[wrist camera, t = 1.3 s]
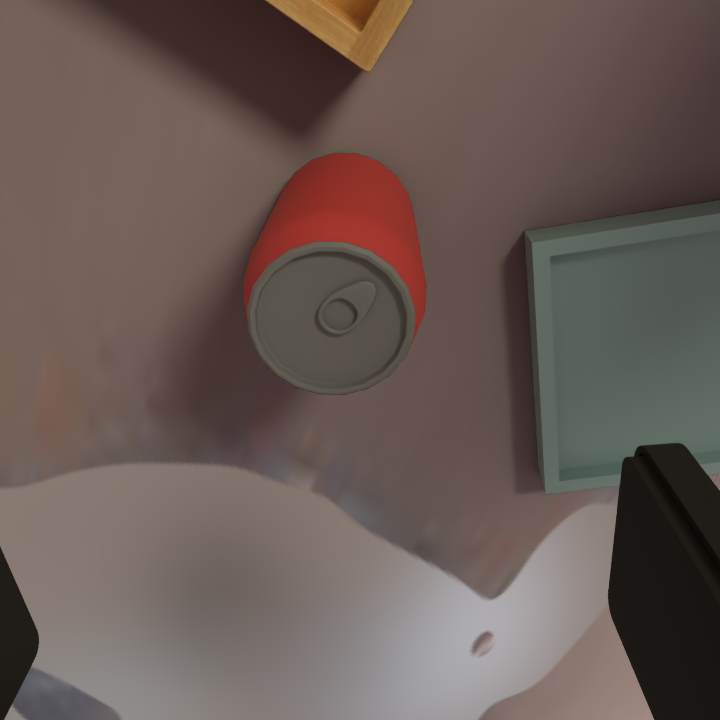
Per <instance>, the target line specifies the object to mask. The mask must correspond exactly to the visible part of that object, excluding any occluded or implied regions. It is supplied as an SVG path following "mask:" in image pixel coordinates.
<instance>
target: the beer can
mask: <svg viewBox="0 0 720 720" xmlns="http://www.w3.org/2000/svg"><path fill="white" fill-rule="evenodd" d="M243 291H244V304H245V316H246V319H247V321H248V333H249V336H250V338H251V340H252V343H253V345H254V347H255V349H256V352H257V354H258V356H259V357H260V358H261V359H262V361H263V362H264V363H265V364H266V365H267V366H268V367H269V369H270V370H271V371H272V372H273V373H274V374H275V375H277V376H278V377H280V378H282V379H283V380H285V381H286V382H288V383H289V384H291V385H293V386H294V387H296V388H300V389H303V390H306V391H310V392H313V393H317V394H329V395H345V394H349V393H353V392H357V391H361V390H365V389H368V388H370V387H372V386H373V385H375V384H377V383H378V382H380V381H382V380H383V379H385V378H387V377H388V376H390V374H391V373H392V372H393V371H394V370H395V369H396V368H397V367H398V365H399V364H400V363H401V362H402V361H403V360H404V359H405V357H406V354H407V352H408V349H409V347H410V345H411V344H412V342H413V339H414V337H415V335H416V332H417V330H418V328H419V325H420V323H421V320H422V318H423V315H424V313H425V300H426V281H425V275H424V269H423V264H422V258H421V253H420V247H419V242H418V236H417V230H416V225H415V219H414V214H413V210H412V207H411V203H410V199H409V196H408V193H407V191H406V190H405V188H404V187H403V185H402V184H401V182H400V181H399V179H398V178H397V176H396V175H395V174H394V173H393V172H391V171H390V170H389V169H387V168H386V167H385V166H384V165H382V164H381V163H380V162H378V161H376V160H374V159H371V158H368V157H365V156H362V155H359V154H356V153H332V154H329V155H326V156H323V157H319V158H316V159H313V160H311V161H310V162H309V163H307V164H306V165H304V166H303V167H302V168H300V169H299V170H298V171H296V172H295V173H294V174H293V176H292V177H291V179H290V180H289V181H288V183H287V184H286V186H285V187H284V189H283V190H282V192H281V194H280V196H279V198H278V200H277V202H276V204H275V206H274V208H273V210H272V212H271V214H270V216H269V218H268V220H267V222H266V224H265V226H264V228H263V230H262V232H261V235H260V237H259V239H258V241H257V243H256V245H255V247H254V249H253V251H252V253H251V255H250V257H249V261H248V265H247V269H246V272H245V276H244V280H243Z"/></svg>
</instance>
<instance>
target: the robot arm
mask: <svg viewBox="0 0 720 720" xmlns="http://www.w3.org/2000/svg"><path fill="white" fill-rule="evenodd" d="M608 602H609V609H610V613H611V617H612V619H613V622H614V625H615V627H616V629H617V632H618V634H619V637H620V639H621V641H622V644H623V646H624V648H625V651H626V653H627V656H628V658H629V660H630V663H631V665H632V668H633V670H634V672H635V675H636V677H637V679H638V682H639V684H640V687H641V689H642V691H643V694H644V696H645V699H646V701H647V703H648V706H649V708H650V710H651V713H652V715H653V718H654V720H720V491H719V489H718V488H717V487H716V485H715V484H714V483H713V481H712V480H711V479H710V477H709V476H708V475H707V474H706V472H705V471H704V470H703V468H702V467H701V466H700V464H699V463H698V462H697V460H696V459H695V458H694V456H693V455H692V454H691V452H690V451H689V450H688V449H687V447H686V446H685V445H683V444H682V443H667V444H654V445H641V446H639V447H637V449H636V451H635V454H634V456H632V457H626V458H624V460H623V463H622V470H621V479H620V488H619V497H618V507H617V516H616V525H615V534H614V544H613V553H612V562H611V572H610V581H609V590H608ZM38 645H39V636H38V632H37V629H36V627H35V624H34V622H33V620H32V617H31V615H30V613H29V611H28V608H27V606H26V604H25V602H24V599H23V597H22V595H21V593H20V591H19V588H18V586H17V584H16V582H15V579H14V577H13V575H12V572H11V570H10V568H9V566H8V563H7V561H6V559H5V557H4V554H3V552H2V550H1V547H0V720H4V719H5V716H6V715H7V713H8V711H9V709H10V707H11V705H12V703H13V701H14V699H15V697H16V695H17V693H18V691H19V689H20V687H21V685H22V683H23V681H24V679H25V677H26V675H27V673H28V671H29V669H30V667H31V665H32V663H33V661H34V659H35V657H36V654H37V651H38Z"/></svg>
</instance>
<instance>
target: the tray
mask: <svg viewBox="0 0 720 720" xmlns="http://www.w3.org/2000/svg"><path fill="white" fill-rule="evenodd" d="M265 1H267V2H268V3H269V4H271V5H272V6H274V7H275V8H276V9H278V10H279V11H281V12H282V13H283V14H285V15H286V16H288V17H289V18H291V19H292V20H293V21H295V22H296V23H298V24H299V25H300V26H302V27H303V28H305V29H306V30H308V31H309V32H310V33H312V34H313V35H315V36H316V37H317V38H319V39H320V40H322V41H323V42H325V43H326V44H327V45H329V46H330V47H332V48H333V49H334V50H336V51H337V52H339V53H340V54H342V55H343V56H344V57H346V58H347V59H349V60H350V61H351V62H353V63H354V64H356V65H357V66H358V67H360V68H361V69H363V70H364V71H365V72H370V71H371V69H372V67H373V66H374V64H375V62H376V61H377V59H378V58H379V56H380V54H381V53H382V51H383V50H384V48H385V46H386V45H387V43H388V41H389V40H390V38H391V37H392V35H393V33H394V32H395V30H396V28H397V27H398V25H399V24H400V22H401V20H402V19H403V17H404V15H405V14H406V12H407V11H408V9H409V7H410V6H411V4H412V2H413V1H414V0H265Z"/></svg>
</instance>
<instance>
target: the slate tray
mask: <svg viewBox="0 0 720 720" xmlns="http://www.w3.org/2000/svg"><path fill="white" fill-rule="evenodd" d="M524 235H525V252H526V269H527V286H528V303H529V320H530V336H531V353H532V370H533V387H534V404H535V421H536V438H537V455H538V472H539V477H540V480H541V483H542V486H543V488H544V491H545V494H552V493H560V492H568V491H577V490H585V489H593V488H602V487H610V486H619V485H620V479H621V470H622V463H623V460H624V458H626V457H632V456H634V454H635V451H636V449H637V447H639V446H641V445H654V444H667V443H682V444H683V445H685V446H686V447H687V449H688V450H689V451H690V452H691V454H692V455H693V456H694V458H695V459H696V460H697V462H698V463H699V464H700V466H701V467H702V468H703V470H704V471H705V472H706V474H707V475H711V474H719V473H720V200H717V201H711V202H704V203H698V204H692V205H685V206H679V207H673V208H666V209H660V210H654V211H647V212H641V213H635V214H628V215H622V216H616V217H609V218H603V219H597V220H591V221H584V222H578V223H572V224H565V225H559V226H553V227H546V228H540V229H534V230H527V231H524Z"/></svg>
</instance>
